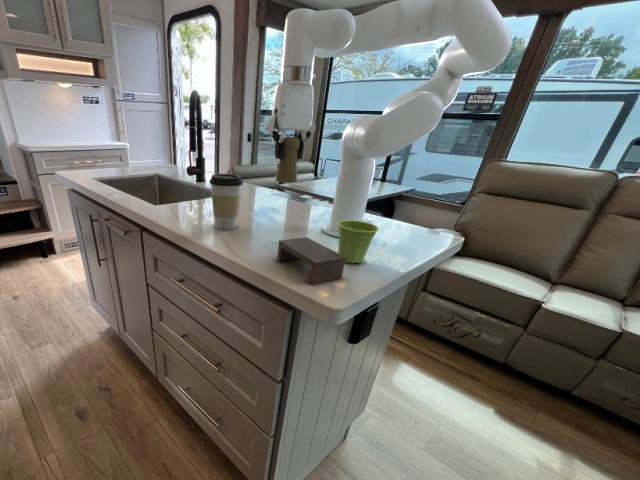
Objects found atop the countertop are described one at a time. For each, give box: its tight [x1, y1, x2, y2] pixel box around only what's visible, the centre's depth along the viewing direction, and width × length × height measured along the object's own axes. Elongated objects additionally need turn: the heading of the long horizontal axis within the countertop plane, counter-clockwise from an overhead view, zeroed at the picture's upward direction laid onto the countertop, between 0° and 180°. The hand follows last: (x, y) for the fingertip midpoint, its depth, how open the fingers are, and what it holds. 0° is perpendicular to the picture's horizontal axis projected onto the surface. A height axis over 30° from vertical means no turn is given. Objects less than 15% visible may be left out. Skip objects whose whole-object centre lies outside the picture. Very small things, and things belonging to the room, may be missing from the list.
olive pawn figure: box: [275, 136, 300, 184], centre depth 86 cm, size 6×6×11 cm
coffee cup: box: [209, 173, 244, 231], centre depth 95 cm, size 10×10×15 cm
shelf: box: [276, 236, 346, 285], centre depth 72 cm, size 8×14×5 cm, turn 26°
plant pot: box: [337, 220, 380, 264], centre depth 77 cm, size 9×9×9 cm
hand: (288, 158), depth 86 cm, fingers closed on olive pawn figure, 5 cm apart
